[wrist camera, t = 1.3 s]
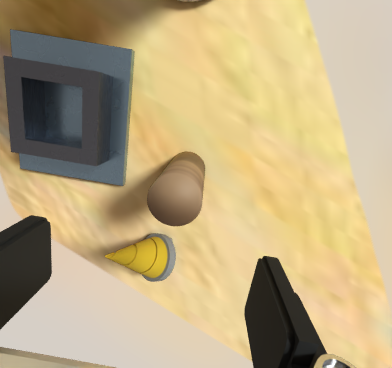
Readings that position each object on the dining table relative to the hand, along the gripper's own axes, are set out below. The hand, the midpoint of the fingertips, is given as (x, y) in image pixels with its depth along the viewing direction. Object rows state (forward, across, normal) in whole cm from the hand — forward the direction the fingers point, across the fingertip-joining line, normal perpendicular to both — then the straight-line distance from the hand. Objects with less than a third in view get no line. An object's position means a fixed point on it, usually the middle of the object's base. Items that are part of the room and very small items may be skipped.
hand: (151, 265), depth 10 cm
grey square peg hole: (+17, +13, -4) cm, 22 cm away
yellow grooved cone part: (+17, +3, +10) cm, 20 cm away
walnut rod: (+17, 0, 0) cm, 17 cm away
